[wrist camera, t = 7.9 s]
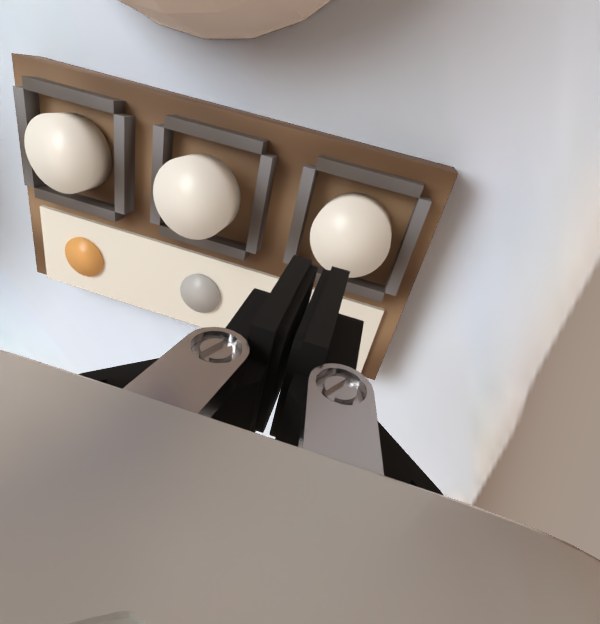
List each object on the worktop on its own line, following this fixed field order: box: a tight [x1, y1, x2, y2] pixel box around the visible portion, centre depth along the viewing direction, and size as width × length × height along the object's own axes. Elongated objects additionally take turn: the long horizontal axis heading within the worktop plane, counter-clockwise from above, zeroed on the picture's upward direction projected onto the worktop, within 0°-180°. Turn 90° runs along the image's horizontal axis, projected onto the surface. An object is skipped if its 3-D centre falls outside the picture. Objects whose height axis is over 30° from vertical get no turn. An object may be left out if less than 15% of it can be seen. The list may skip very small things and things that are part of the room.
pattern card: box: [40, 205, 384, 373], centre depth 25 cm, size 5×22×1 cm, turn 77°
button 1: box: [24, 112, 112, 194], centre depth 22 cm, size 4×4×2 cm
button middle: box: [153, 153, 240, 240], centre depth 21 cm, size 4×4×2 cm
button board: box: [12, 53, 458, 380], centre depth 24 cm, size 13×24×3 cm, turn 77°
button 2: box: [310, 192, 392, 278], centre depth 21 cm, size 4×4×2 cm
